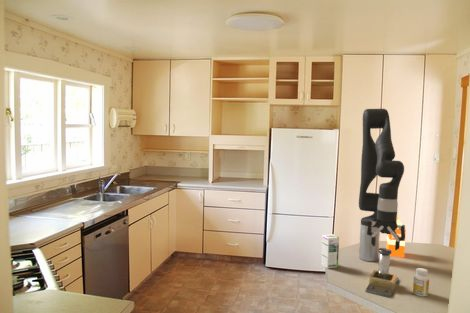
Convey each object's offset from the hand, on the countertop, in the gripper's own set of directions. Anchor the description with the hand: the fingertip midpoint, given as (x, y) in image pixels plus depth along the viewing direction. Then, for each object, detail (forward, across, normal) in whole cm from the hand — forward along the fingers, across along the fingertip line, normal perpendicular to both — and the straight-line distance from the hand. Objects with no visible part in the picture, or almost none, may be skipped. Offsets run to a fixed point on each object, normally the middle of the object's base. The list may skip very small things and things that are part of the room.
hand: (385, 247), depth 148 cm
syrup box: (+16, +25, -8) cm, 31 cm away
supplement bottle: (+16, -14, -1) cm, 21 cm away
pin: (+16, 0, 0) cm, 16 cm away
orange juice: (+16, +2, -46) cm, 49 cm away
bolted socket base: (+16, 0, 0) cm, 16 cm away
